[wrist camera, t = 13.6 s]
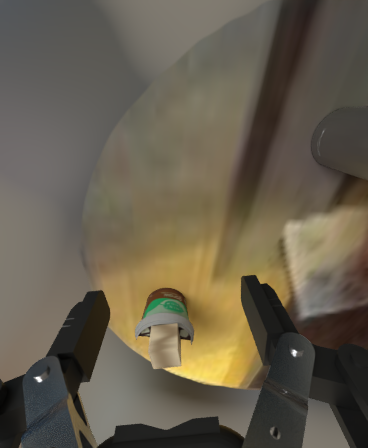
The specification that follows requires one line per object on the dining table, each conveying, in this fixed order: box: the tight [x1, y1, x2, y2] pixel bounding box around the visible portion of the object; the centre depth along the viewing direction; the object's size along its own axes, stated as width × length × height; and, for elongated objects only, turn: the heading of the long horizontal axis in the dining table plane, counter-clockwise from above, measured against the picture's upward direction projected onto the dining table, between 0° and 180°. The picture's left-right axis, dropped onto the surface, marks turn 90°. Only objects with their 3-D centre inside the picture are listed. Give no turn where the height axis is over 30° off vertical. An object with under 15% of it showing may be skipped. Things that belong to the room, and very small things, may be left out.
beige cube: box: [148, 323, 181, 369], centre depth 39 cm, size 5×5×5 cm
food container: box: [135, 288, 194, 345], centre depth 46 cm, size 12×6×10 cm, turn 80°
